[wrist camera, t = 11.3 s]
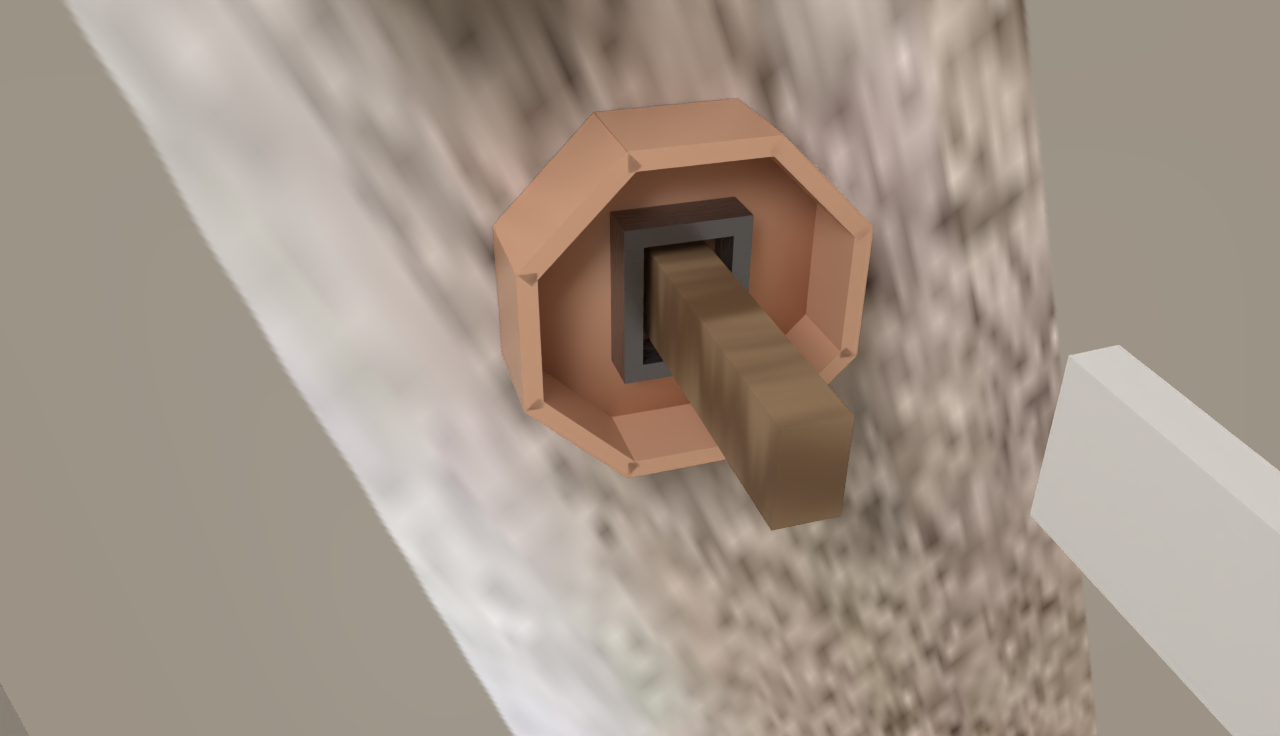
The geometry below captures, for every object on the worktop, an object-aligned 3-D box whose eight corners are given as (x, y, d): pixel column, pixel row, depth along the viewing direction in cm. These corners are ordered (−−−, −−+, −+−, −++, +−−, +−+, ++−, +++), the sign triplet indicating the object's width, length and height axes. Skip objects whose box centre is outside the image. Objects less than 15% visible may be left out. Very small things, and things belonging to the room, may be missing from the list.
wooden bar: (642, 242, 44) (780, 429, 32) (699, 235, 44) (854, 416, 33) (641, 326, 46) (771, 530, 35) (695, 318, 47) (840, 515, 35)
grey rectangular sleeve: (609, 211, 43) (624, 231, 41) (735, 196, 44) (753, 215, 42) (611, 360, 46) (624, 383, 45) (726, 341, 48) (743, 364, 46)
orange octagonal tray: (484, 122, 40) (508, 163, 37) (834, 89, 44) (887, 123, 40) (508, 436, 48) (529, 496, 44) (803, 385, 52) (846, 436, 48)
